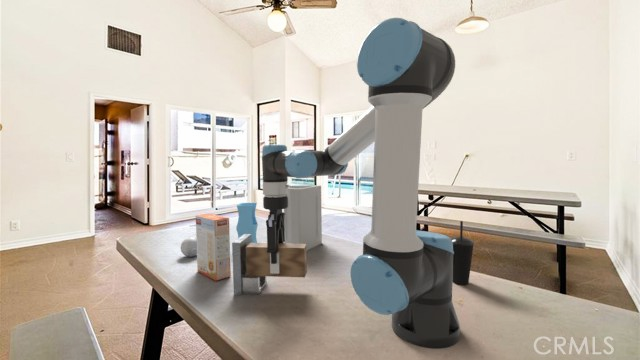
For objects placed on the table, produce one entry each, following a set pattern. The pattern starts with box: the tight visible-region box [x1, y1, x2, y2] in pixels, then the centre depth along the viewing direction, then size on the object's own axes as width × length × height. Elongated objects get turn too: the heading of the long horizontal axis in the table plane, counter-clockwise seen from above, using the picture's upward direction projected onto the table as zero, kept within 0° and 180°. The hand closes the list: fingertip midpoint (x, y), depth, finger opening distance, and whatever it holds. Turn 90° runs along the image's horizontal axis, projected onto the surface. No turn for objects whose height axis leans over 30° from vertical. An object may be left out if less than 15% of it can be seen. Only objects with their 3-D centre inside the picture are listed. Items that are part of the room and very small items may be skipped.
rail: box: [246, 242, 308, 278], centre depth 91 cm, size 18×4×9 cm, turn 85°
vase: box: [236, 202, 258, 243], centre depth 137 cm, size 8×8×20 cm
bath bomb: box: [180, 237, 197, 258], centre depth 124 cm, size 8×8×8 cm
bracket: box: [231, 234, 268, 296], centre depth 91 cm, size 10×7×16 cm
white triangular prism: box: [283, 184, 323, 251], centre depth 136 cm, size 19×15×28 cm
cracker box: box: [195, 213, 232, 282], centre depth 103 cm, size 14×6×21 cm, turn 47°
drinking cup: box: [449, 220, 476, 286], centre depth 94 cm, size 8×8×20 cm
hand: (277, 269), depth 91 cm, fingers closed on rail, 5 cm apart
